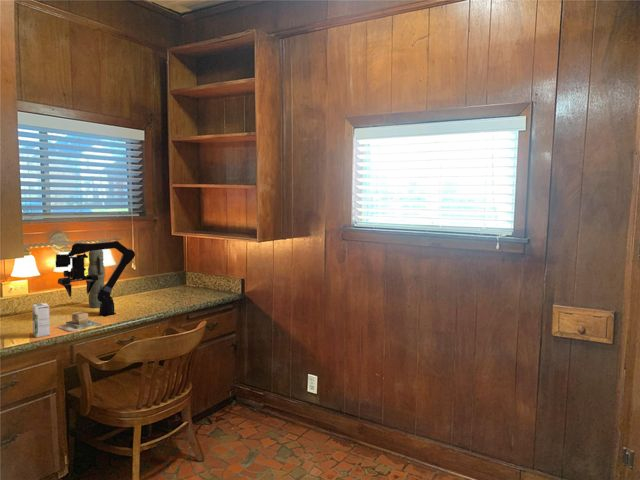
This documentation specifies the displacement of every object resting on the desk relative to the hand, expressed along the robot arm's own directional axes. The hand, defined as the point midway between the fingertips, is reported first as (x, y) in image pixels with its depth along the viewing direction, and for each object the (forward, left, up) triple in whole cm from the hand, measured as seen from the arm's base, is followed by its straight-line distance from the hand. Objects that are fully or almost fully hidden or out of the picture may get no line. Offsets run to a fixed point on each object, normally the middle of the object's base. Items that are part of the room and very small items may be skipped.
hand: (79, 295), depth 231 cm
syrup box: (+26, +18, -12) cm, 34 cm away
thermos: (-18, -16, -12) cm, 27 cm away
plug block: (+8, +17, -12) cm, 22 cm away
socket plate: (+8, +17, -12) cm, 22 cm away
